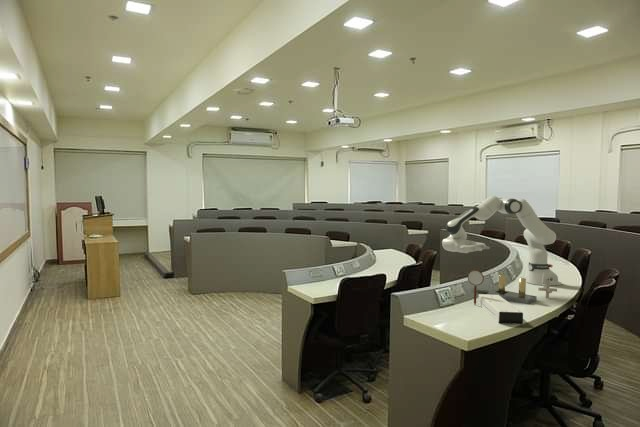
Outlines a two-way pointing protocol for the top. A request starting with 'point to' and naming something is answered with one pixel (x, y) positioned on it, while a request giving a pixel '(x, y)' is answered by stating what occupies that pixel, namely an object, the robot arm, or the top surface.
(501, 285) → the brass pin
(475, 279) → the magnifying glass
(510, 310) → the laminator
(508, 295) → the bolt plate
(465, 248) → the robot arm
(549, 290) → the pipe connector
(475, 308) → the top surface
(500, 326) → the top surface
